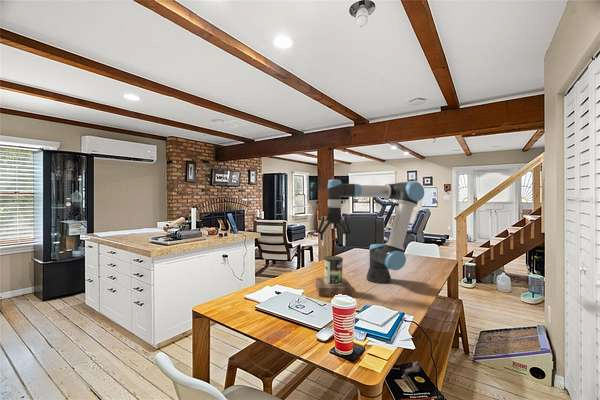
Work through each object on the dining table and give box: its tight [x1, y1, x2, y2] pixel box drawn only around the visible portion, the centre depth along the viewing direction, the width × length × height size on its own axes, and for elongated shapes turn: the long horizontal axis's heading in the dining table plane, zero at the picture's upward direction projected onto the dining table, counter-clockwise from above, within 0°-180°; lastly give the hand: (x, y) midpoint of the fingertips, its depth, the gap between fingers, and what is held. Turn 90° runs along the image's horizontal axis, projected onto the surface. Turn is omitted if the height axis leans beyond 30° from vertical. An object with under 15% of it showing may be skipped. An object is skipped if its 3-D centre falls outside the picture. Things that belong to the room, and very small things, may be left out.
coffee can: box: [323, 255, 344, 285], centre depth 158 cm, size 10×10×14 cm
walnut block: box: [314, 277, 353, 297], centre depth 158 cm, size 18×18×4 cm
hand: (333, 245), depth 158 cm, fingers open, 11 cm apart
